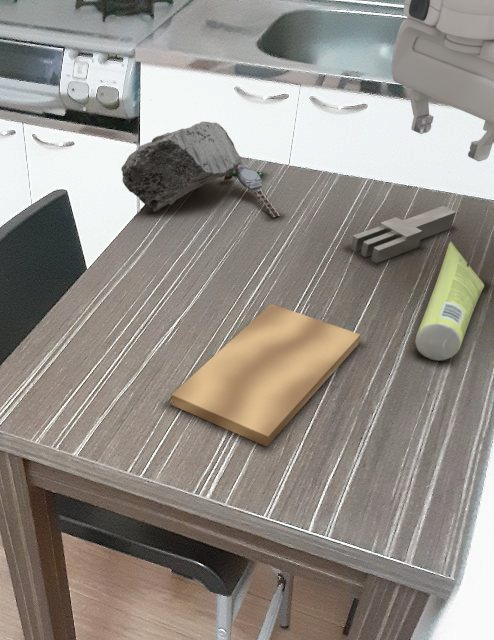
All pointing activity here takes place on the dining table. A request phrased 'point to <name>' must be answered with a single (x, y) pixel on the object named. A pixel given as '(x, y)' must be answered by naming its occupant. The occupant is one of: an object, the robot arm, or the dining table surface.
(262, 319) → the board
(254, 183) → the wristwatch
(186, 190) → the stone
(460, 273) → the tube
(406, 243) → the fork
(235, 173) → the circuit board
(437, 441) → the dining table surface
